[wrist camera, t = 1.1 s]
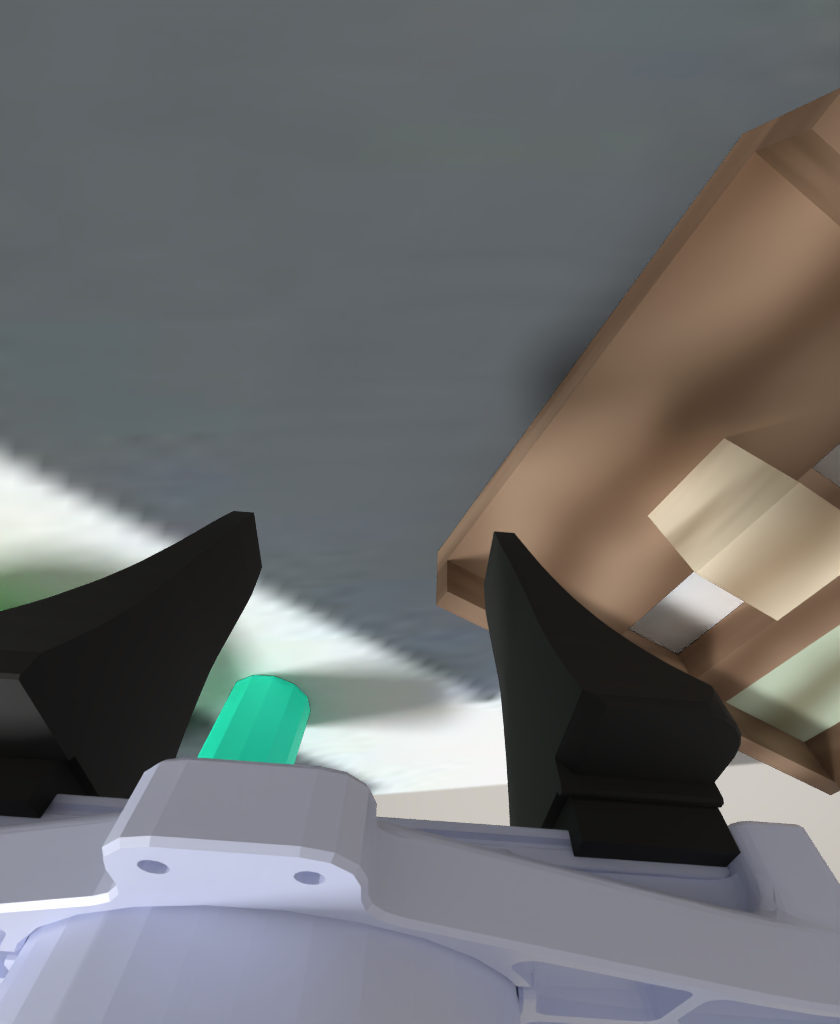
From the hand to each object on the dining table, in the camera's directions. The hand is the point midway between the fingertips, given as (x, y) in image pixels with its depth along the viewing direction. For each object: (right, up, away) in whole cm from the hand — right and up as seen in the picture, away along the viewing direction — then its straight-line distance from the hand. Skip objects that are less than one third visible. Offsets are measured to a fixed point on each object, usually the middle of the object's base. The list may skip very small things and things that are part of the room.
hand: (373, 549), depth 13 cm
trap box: (+20, 0, +10) cm, 22 cm away
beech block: (+15, +2, +7) cm, 17 cm away
